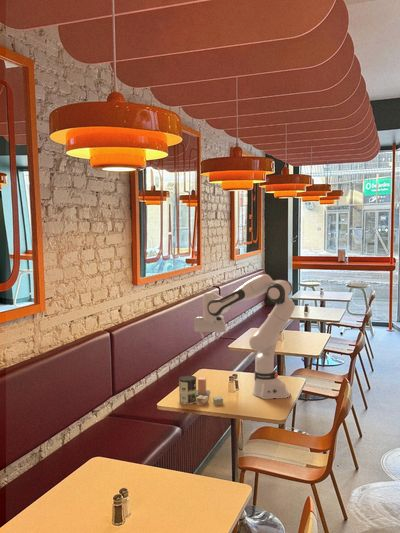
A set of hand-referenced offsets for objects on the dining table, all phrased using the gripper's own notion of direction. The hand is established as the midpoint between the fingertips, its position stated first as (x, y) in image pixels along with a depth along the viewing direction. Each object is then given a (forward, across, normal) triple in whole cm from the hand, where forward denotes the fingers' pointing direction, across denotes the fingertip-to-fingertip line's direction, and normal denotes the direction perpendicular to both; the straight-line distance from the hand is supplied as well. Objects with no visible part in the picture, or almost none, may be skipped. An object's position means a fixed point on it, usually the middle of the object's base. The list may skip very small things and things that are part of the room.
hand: (210, 338), depth 314 cm
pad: (+31, -4, -15) cm, 35 cm away
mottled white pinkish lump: (+31, -2, -31) cm, 44 cm away
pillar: (+30, -4, -15) cm, 34 cm away
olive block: (+31, +7, -30) cm, 44 cm away
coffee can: (+31, -11, -28) cm, 43 cm away
